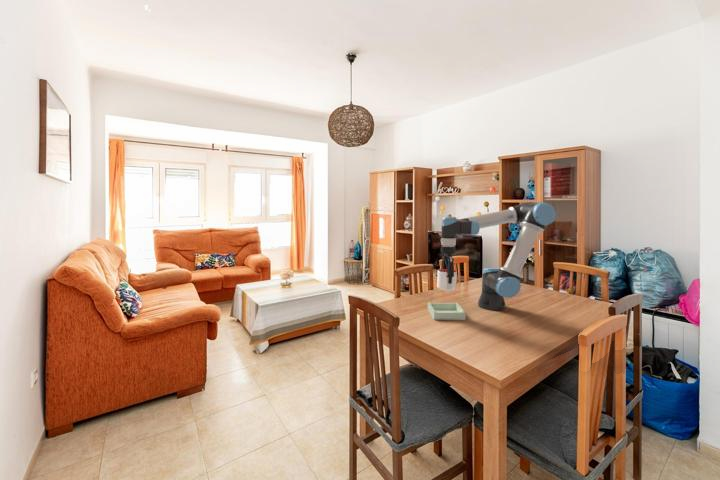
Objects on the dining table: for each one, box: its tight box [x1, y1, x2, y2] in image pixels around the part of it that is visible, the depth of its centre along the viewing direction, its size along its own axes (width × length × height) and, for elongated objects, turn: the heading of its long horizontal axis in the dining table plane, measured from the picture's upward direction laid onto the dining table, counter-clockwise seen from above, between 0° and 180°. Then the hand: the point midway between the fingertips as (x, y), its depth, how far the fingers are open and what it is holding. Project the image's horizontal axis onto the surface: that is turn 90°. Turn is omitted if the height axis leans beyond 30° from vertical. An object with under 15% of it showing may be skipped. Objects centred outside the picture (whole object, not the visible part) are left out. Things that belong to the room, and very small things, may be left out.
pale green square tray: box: [427, 301, 467, 321], centre depth 178 cm, size 16×16×4 cm
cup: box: [436, 268, 458, 292], centre depth 176 cm, size 10×10×10 cm
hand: (446, 286), depth 177 cm, fingers closed on cup, 10 cm apart
